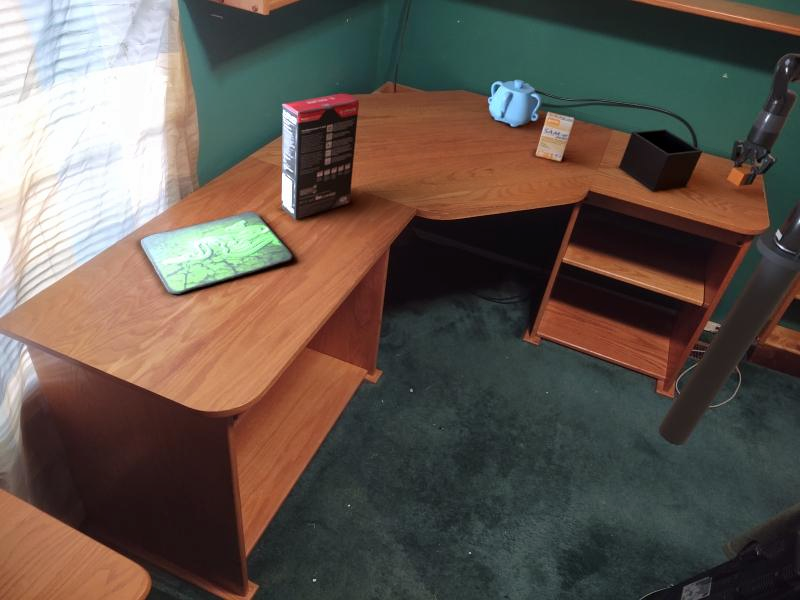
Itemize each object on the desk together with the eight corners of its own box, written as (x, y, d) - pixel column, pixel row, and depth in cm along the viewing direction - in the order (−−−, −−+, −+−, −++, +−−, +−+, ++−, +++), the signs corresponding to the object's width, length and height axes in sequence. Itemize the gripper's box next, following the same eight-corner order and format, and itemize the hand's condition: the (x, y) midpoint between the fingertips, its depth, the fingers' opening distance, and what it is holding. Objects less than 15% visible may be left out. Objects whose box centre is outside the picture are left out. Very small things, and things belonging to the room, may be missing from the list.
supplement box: (534, 156, 187) (546, 116, 179) (536, 150, 191) (547, 110, 182) (561, 162, 186) (573, 122, 177) (562, 156, 189) (574, 116, 181)
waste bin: (686, 186, 182) (702, 151, 175) (652, 191, 177) (668, 155, 170) (651, 163, 193) (665, 128, 185) (618, 167, 188) (632, 132, 180)
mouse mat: (170, 297, 117) (170, 293, 116) (137, 240, 130) (136, 236, 129) (296, 261, 131) (296, 257, 130) (254, 213, 144) (254, 209, 143)
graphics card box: (336, 192, 156) (342, 89, 139) (353, 204, 152) (360, 99, 135) (280, 209, 146) (279, 101, 129) (296, 222, 143) (297, 113, 125)
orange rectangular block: (751, 184, 182) (758, 172, 179) (738, 186, 179) (744, 174, 177) (740, 177, 185) (746, 166, 182) (726, 179, 182) (732, 167, 180)
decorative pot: (490, 126, 201) (499, 87, 193) (484, 108, 214) (492, 70, 205) (537, 131, 203) (547, 92, 194) (528, 113, 215) (538, 75, 206)
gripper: (797, 136, 168) (767, 190, 178) (756, 116, 178) (730, 168, 188) (779, 138, 165) (750, 192, 175) (738, 117, 175) (713, 170, 185)
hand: (740, 180), depth 182 cm, fingers closed on orange rectangular block, 4 cm apart
